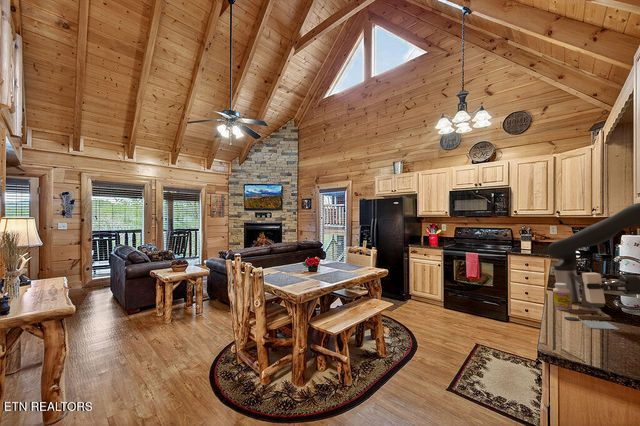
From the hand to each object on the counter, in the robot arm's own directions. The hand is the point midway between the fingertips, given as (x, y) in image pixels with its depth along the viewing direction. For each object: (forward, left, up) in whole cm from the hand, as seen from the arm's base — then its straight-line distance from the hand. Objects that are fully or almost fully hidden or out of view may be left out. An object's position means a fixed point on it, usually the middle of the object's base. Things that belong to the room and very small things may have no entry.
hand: (584, 285), depth 119 cm
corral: (-14, +5, -17) cm, 22 cm away
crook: (-24, +8, -17) cm, 30 cm away
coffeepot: (-35, +15, -17) cm, 42 cm away
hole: (-8, -4, -17) cm, 19 cm away
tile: (0, +3, -17) cm, 17 cm away
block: (0, +3, -7) cm, 8 cm away
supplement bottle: (-25, -1, -17) cm, 30 cm away
